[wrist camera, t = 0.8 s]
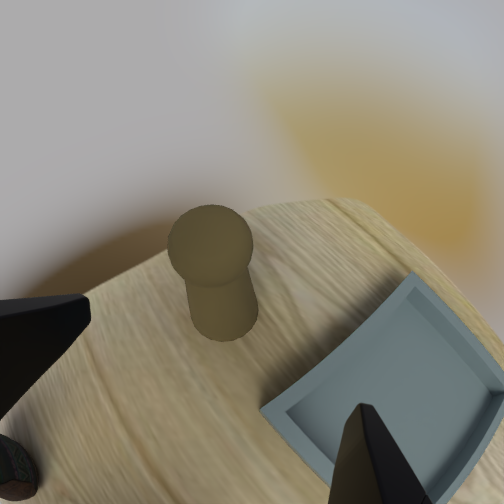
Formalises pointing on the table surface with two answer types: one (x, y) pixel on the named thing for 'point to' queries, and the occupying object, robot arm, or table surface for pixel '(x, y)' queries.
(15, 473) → the mate gourd
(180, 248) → the cork
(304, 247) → the table surface
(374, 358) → the slate tray
